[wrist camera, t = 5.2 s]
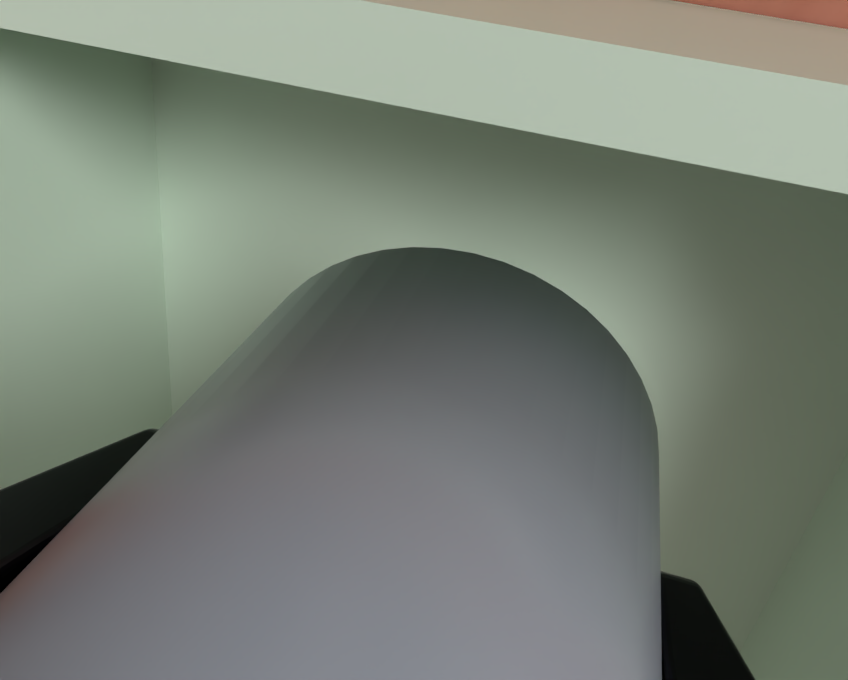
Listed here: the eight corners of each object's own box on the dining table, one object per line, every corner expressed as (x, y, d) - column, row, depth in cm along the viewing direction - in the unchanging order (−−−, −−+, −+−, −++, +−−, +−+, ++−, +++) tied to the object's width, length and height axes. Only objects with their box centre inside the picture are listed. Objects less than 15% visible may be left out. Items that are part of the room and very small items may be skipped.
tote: (1102, 71, 9) (1482, 195, 5) (677, 815, 18) (685, 1084, 14) (117, -90, 11) (-195, -98, 7) (172, 648, 20) (47, 838, 16)
